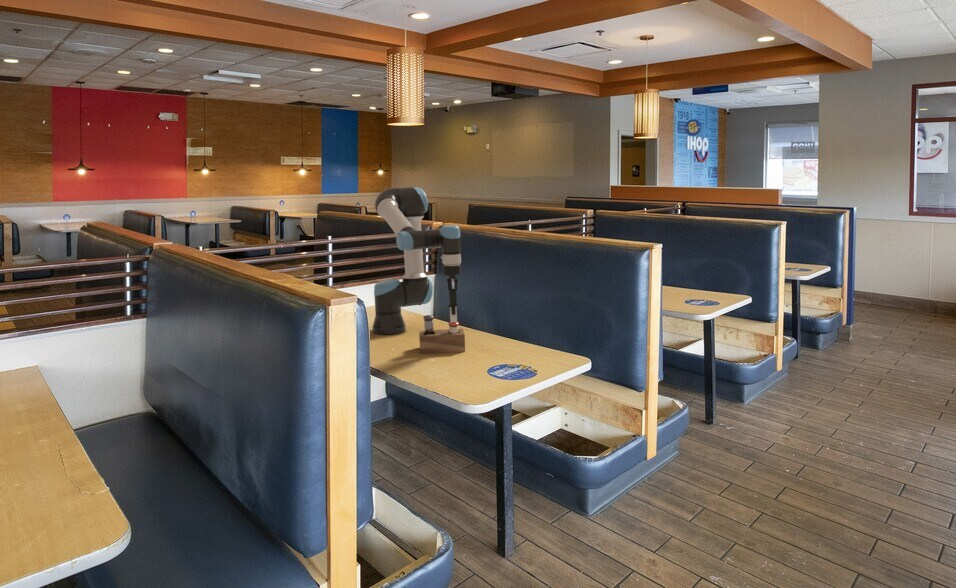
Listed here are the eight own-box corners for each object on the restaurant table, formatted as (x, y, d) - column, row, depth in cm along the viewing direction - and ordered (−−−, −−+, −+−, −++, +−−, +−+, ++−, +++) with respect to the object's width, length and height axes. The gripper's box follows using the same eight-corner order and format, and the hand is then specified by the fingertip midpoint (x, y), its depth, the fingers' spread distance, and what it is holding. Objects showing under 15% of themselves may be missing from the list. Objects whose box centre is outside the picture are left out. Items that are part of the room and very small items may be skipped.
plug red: (448, 339, 267) (448, 321, 266) (459, 339, 268) (458, 321, 266) (449, 342, 263) (448, 324, 262) (459, 341, 264) (459, 323, 262)
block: (420, 347, 270) (419, 330, 269) (463, 345, 271) (462, 328, 270) (420, 353, 260) (419, 336, 259) (465, 351, 262) (464, 334, 260)
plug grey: (424, 333, 266) (423, 315, 265) (434, 332, 266) (433, 315, 265) (424, 335, 262) (423, 317, 260) (434, 335, 262) (433, 317, 261)
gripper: (441, 262, 266) (443, 319, 270) (442, 267, 253) (445, 326, 257) (460, 261, 266) (461, 318, 271) (462, 266, 254) (464, 325, 258)
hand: (453, 322), depth 264 cm, fingers closed
